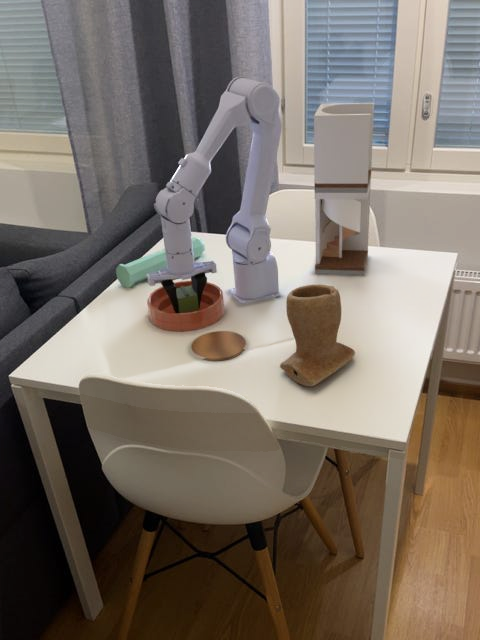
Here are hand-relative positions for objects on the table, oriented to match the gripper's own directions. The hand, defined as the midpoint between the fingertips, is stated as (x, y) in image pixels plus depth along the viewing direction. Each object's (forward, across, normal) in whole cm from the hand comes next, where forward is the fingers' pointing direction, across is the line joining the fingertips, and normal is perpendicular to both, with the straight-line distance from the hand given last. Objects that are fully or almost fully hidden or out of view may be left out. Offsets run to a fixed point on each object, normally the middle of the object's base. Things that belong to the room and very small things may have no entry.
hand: (186, 309), depth 150 cm
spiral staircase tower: (+2, +41, +8) cm, 42 cm away
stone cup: (+2, +16, -31) cm, 35 cm away
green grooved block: (+1, 0, 0) cm, 1 cm away
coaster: (+2, +2, -16) cm, 16 cm away
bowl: (+2, 0, 0) cm, 2 cm away
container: (+2, +2, +26) cm, 26 cm away
